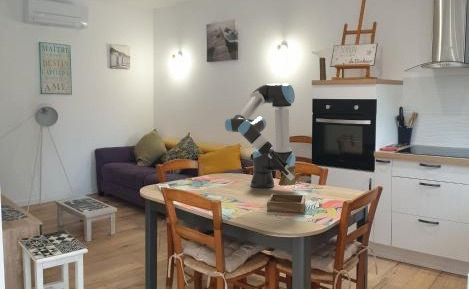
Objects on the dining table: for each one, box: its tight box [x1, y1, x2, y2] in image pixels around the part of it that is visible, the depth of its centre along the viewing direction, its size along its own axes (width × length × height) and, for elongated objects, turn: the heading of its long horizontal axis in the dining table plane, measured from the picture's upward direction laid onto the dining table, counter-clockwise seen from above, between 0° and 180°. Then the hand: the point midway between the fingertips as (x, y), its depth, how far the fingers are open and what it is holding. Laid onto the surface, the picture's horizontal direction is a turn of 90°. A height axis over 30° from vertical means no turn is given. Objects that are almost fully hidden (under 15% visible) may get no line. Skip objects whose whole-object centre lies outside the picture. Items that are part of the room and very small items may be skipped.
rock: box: [277, 165, 297, 187], centre depth 219 cm, size 11×9×10 cm
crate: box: [266, 193, 306, 214], centre depth 221 cm, size 18×18×5 cm
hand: (293, 177), depth 218 cm, fingers closed on rock, 8 cm apart
